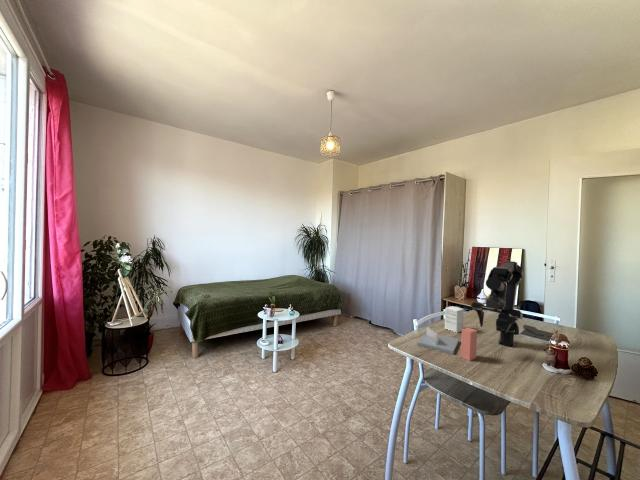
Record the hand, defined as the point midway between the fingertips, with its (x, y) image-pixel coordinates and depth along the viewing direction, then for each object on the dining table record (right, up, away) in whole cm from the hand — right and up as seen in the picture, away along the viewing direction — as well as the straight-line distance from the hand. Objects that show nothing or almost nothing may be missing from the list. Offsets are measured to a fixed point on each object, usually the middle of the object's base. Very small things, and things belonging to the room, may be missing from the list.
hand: (493, 329), depth 118 cm
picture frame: (+44, -15, +30) cm, 55 cm away
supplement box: (+1, -13, +37) cm, 39 cm away
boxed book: (-10, -13, +2) cm, 17 cm away
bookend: (-20, -11, +16) cm, 28 cm away
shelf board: (-17, -13, +16) cm, 27 cm away
